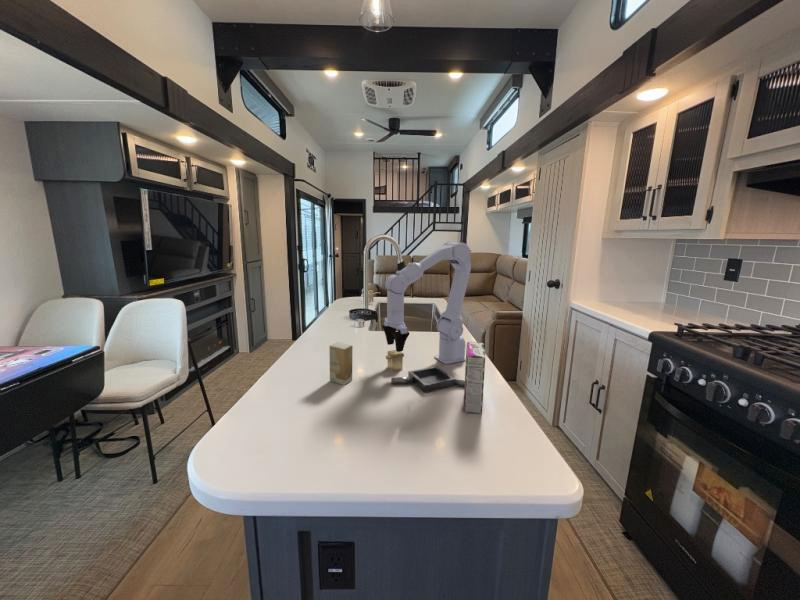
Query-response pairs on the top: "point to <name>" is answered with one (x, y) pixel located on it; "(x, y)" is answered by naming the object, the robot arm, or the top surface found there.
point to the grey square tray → (432, 379)
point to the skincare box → (341, 363)
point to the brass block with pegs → (395, 360)
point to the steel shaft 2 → (459, 383)
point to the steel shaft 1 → (402, 380)
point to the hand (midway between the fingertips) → (394, 347)
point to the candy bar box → (474, 377)
